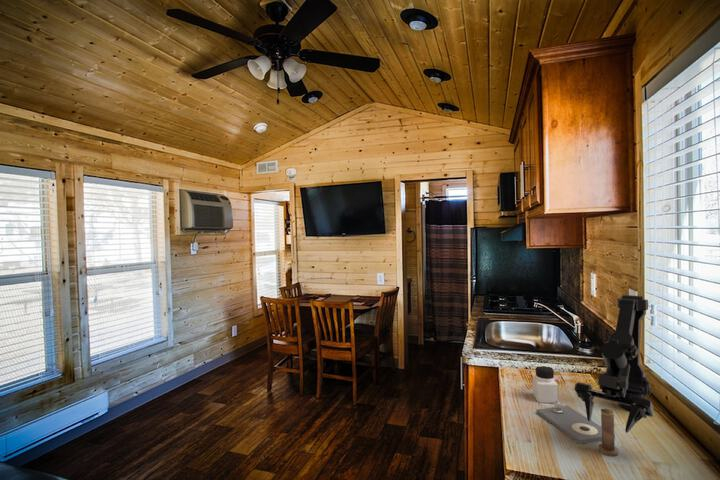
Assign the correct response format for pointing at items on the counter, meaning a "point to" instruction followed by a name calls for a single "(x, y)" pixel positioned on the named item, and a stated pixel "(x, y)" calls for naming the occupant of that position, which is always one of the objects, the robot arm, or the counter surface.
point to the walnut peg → (607, 433)
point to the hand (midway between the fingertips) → (606, 426)
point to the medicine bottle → (545, 385)
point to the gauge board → (573, 424)
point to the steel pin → (557, 407)
